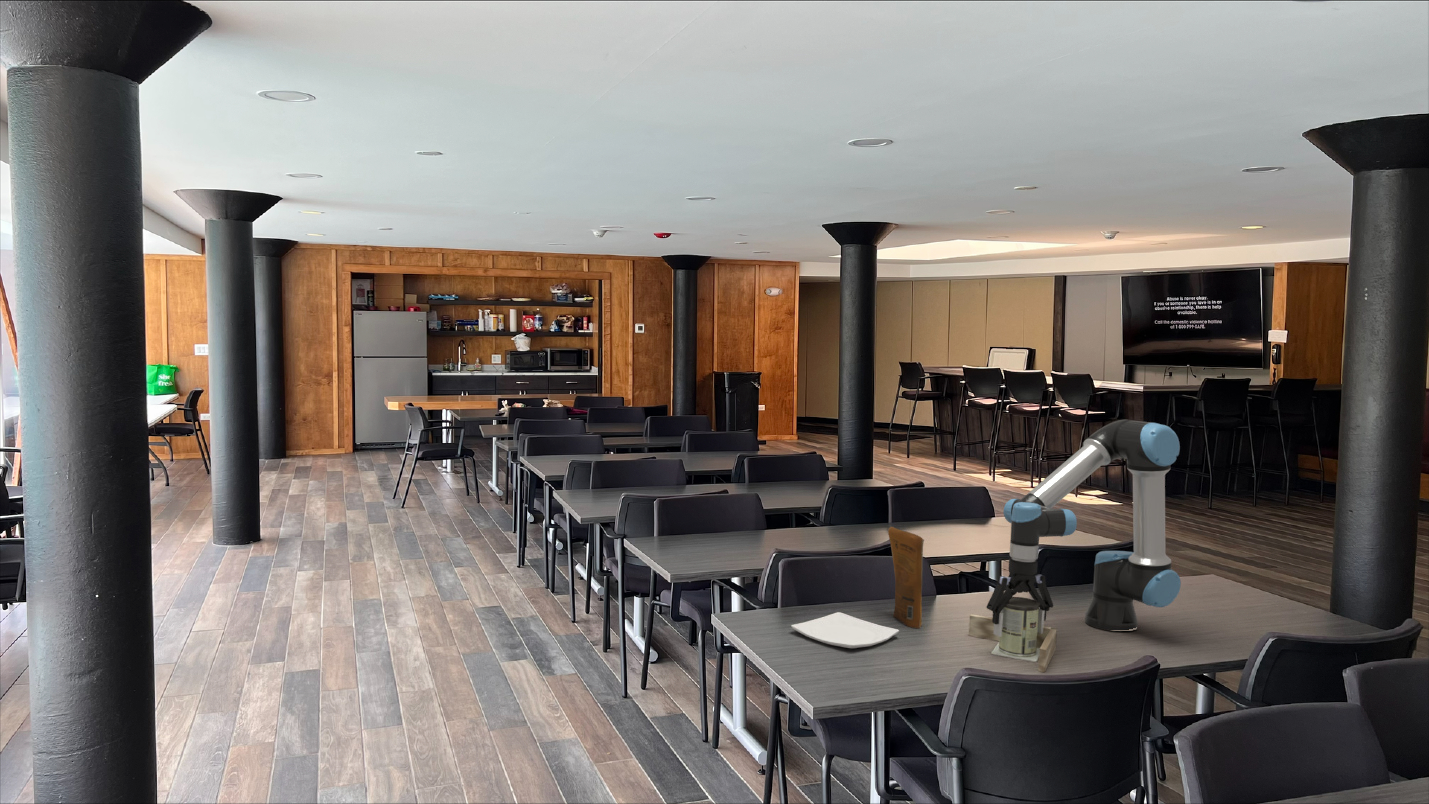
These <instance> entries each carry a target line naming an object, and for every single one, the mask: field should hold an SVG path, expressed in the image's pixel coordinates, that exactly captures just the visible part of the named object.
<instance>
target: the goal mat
mask: <svg viewBox="0 0 1429 804" xmlns="http://www.w3.org/2000/svg"><path fill="white" fill-rule="evenodd" d="M998 648H999V641H998V643H997V644H996V646H995V647H994V649H993V650H992V651H991V652H990V655H994V656H999V657H1003V658H1004V657H1005V658H1010V659H1016V660H1021V661H1027V662H1033V663H1037V662H1038V661H1039V652H1040V648H1036V655H1034V656H1031V657H1018V656H1012V655H1008V654H1005V653H1003V652H1001V651H1000V650H999V649H998Z"/></svg>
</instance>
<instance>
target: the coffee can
mask: <svg viewBox="0 0 1429 804" xmlns="http://www.w3.org/2000/svg"><path fill="white" fill-rule="evenodd" d="M1039 606H1040V604H1039V602H1037V601H1035V600H1034V599H1033V598H1032V599H1031V598H1028V597H1023V596H1022V597H1021V596H1012V598H1011V599H1010V600H1009V602H1008V603H1007V604H1006V606H1005V607H1004V608H1003V610H1002V611H1001V613H1003V623H1002V637H999V641H998V642H999V648H998V649H999V650H1000V651H1001V652H1003V653H1005V654H1008V655H1012V656H1018V657H1031V656H1034V655H1036V648H1037V631H1038V615H1039V609H1040V608H1039Z"/></svg>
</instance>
